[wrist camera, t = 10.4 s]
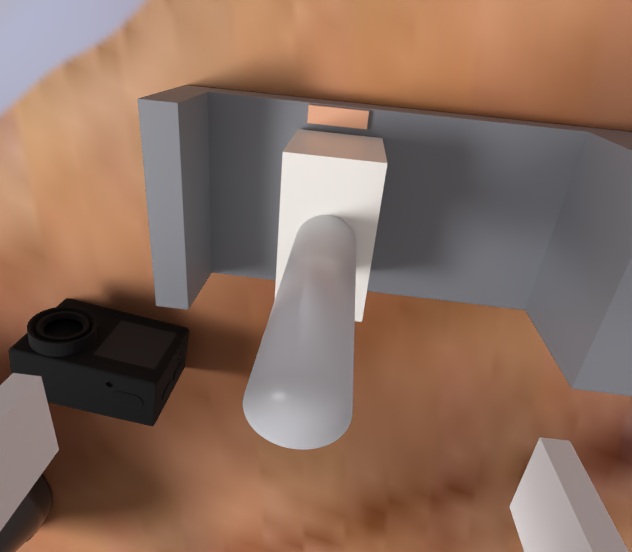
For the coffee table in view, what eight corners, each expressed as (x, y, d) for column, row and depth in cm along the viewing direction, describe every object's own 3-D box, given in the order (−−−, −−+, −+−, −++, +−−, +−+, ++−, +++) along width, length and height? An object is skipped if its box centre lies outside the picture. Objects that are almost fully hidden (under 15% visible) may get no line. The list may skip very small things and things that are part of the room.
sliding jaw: (288, 264, 31) (214, 499, 16) (297, 129, 27) (208, 261, 11) (361, 273, 31) (362, 519, 15) (382, 138, 27) (412, 285, 11)
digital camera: (192, 315, 37) (158, 372, 31) (186, 367, 40) (153, 428, 33) (65, 285, 37) (5, 335, 31) (67, 338, 39) (12, 395, 33)
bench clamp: (192, 257, 34) (134, 333, 26) (185, 84, 29) (108, 107, 20) (571, 302, 33) (647, 398, 25) (641, 132, 28) (771, 178, 19)
